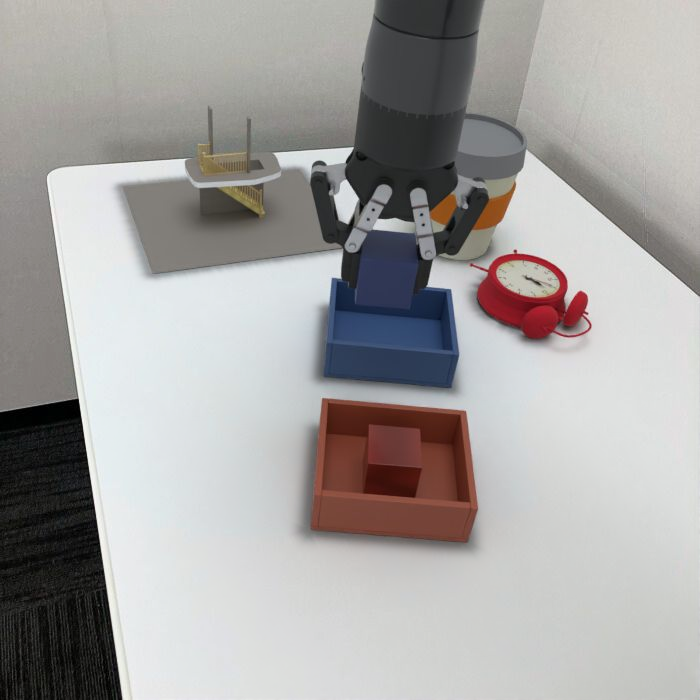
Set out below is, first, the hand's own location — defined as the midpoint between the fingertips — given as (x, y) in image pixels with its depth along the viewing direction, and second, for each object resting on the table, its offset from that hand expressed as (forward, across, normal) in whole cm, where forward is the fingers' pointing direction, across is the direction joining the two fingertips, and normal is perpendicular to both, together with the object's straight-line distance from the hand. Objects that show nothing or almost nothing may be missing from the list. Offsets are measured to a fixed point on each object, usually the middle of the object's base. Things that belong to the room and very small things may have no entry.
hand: (383, 285), depth 65 cm
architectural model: (+16, -17, +35) cm, 42 cm away
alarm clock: (+16, +20, +20) cm, 32 cm away
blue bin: (+16, +3, +11) cm, 19 cm away
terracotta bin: (+16, +2, -8) cm, 18 cm away
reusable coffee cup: (+16, +12, +34) cm, 39 cm away
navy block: (+1, 0, 0) cm, 1 cm away
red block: (+15, +2, -8) cm, 17 cm away
